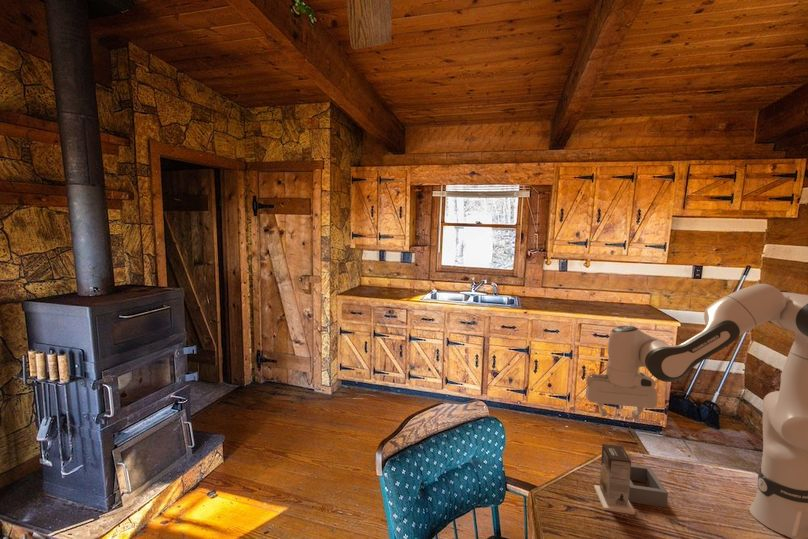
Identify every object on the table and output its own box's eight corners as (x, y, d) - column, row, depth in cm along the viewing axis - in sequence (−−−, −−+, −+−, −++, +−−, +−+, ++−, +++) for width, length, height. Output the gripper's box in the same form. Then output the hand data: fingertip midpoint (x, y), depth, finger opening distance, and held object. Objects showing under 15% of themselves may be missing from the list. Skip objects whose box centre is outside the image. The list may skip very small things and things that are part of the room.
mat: (622, 491, 127) (622, 489, 127) (634, 514, 117) (634, 512, 117) (593, 487, 129) (594, 484, 129) (603, 509, 119) (603, 507, 119)
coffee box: (598, 486, 128) (601, 442, 127) (618, 489, 127) (622, 445, 125) (606, 505, 119) (610, 458, 118) (628, 508, 118) (632, 461, 117)
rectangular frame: (648, 479, 134) (649, 466, 133) (666, 507, 120) (667, 492, 120) (615, 475, 136) (615, 462, 136) (629, 501, 122) (630, 487, 122)
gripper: (589, 376, 118) (587, 417, 120) (661, 382, 114) (657, 425, 115) (584, 369, 125) (582, 409, 126) (652, 375, 120) (649, 416, 121)
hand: (618, 417), depth 120 cm, fingers open, 8 cm apart
